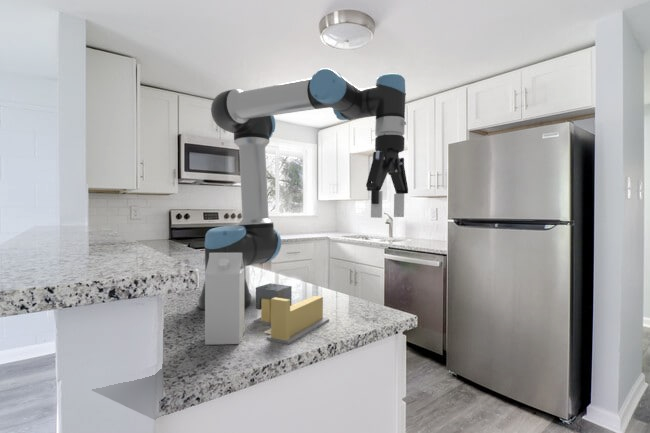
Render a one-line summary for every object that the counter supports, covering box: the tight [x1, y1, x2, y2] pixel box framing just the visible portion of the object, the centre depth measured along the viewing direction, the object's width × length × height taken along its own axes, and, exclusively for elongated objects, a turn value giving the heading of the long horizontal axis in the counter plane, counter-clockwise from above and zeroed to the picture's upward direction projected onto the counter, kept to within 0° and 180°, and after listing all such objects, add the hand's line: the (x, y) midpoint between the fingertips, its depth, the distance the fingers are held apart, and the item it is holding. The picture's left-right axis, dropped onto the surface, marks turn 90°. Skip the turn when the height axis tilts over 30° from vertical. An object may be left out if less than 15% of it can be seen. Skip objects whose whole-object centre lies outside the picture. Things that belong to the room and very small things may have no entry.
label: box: [263, 328, 271, 335], centre depth 81 cm, size 3×6×1 cm, turn 151°
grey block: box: [255, 283, 293, 311], centre depth 89 cm, size 7×6×6 cm
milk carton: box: [204, 253, 246, 346], centre depth 75 cm, size 7×7×19 cm
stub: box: [252, 298, 271, 327], centre depth 89 cm, size 6×9×6 cm, turn 151°
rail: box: [266, 295, 330, 345], centre depth 82 cm, size 6×18×9 cm, turn 151°
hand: (388, 217), depth 90 cm, fingers open, 13 cm apart
